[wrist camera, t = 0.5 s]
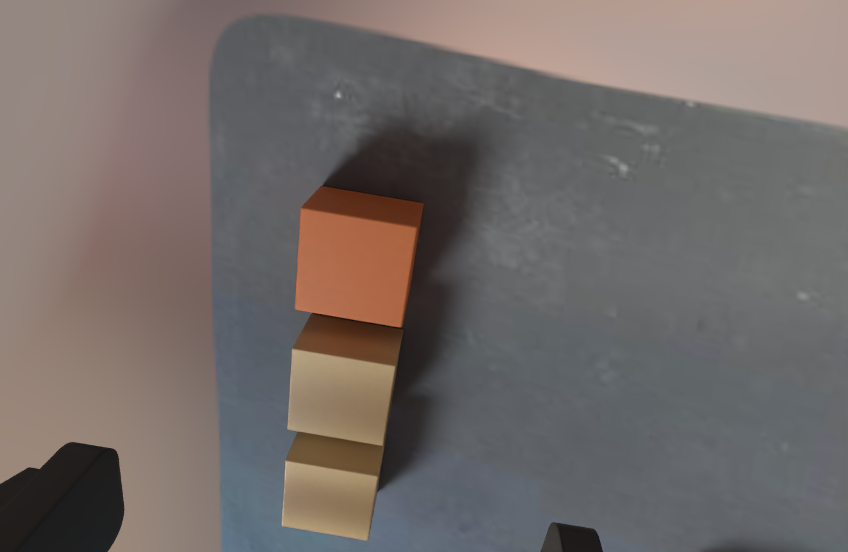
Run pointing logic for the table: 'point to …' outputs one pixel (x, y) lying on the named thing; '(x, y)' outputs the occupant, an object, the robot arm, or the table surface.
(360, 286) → the orange square block
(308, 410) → the word tile
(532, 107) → the table surface
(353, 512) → the tile
